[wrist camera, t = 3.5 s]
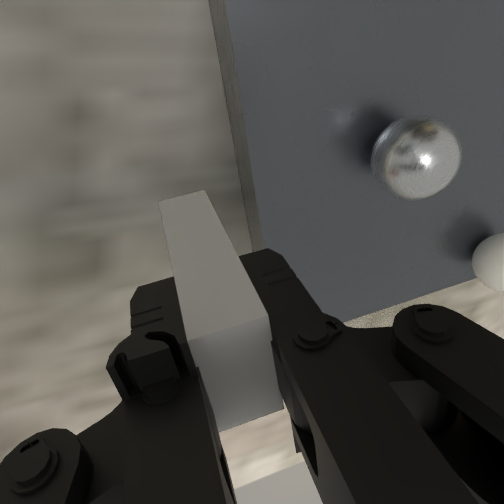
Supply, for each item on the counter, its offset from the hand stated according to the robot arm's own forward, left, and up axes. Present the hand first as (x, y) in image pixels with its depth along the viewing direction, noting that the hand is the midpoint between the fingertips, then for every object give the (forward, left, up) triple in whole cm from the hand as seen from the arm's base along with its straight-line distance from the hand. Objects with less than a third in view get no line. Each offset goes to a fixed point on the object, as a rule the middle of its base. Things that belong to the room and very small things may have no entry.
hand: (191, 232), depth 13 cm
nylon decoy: (+7, +15, -1) cm, 16 cm away
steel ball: (0, +9, -1) cm, 9 cm away
